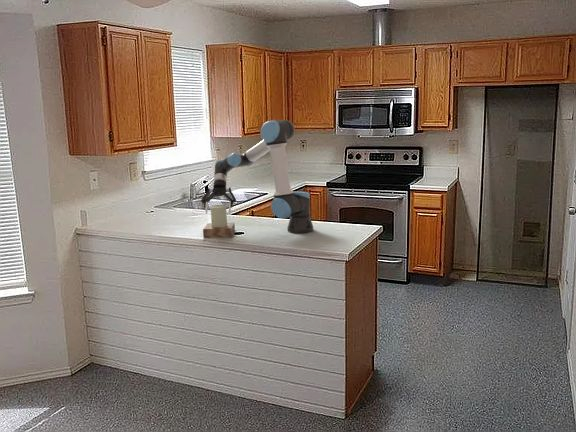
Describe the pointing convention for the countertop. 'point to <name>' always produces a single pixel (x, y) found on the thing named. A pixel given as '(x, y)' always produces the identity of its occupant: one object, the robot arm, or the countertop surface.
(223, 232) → the plinth
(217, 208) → the can
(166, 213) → the countertop surface
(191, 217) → the countertop surface
